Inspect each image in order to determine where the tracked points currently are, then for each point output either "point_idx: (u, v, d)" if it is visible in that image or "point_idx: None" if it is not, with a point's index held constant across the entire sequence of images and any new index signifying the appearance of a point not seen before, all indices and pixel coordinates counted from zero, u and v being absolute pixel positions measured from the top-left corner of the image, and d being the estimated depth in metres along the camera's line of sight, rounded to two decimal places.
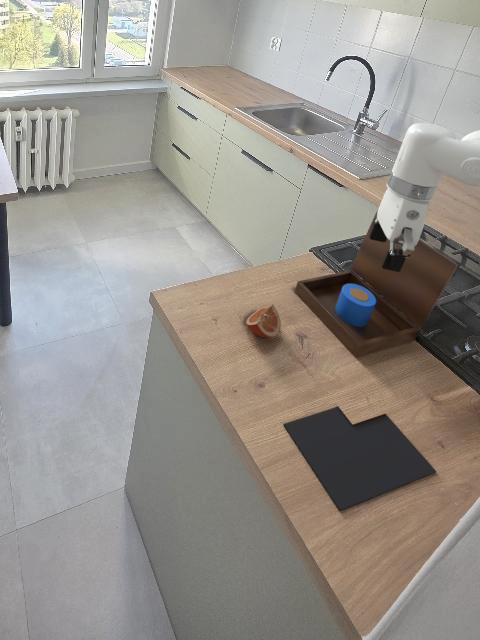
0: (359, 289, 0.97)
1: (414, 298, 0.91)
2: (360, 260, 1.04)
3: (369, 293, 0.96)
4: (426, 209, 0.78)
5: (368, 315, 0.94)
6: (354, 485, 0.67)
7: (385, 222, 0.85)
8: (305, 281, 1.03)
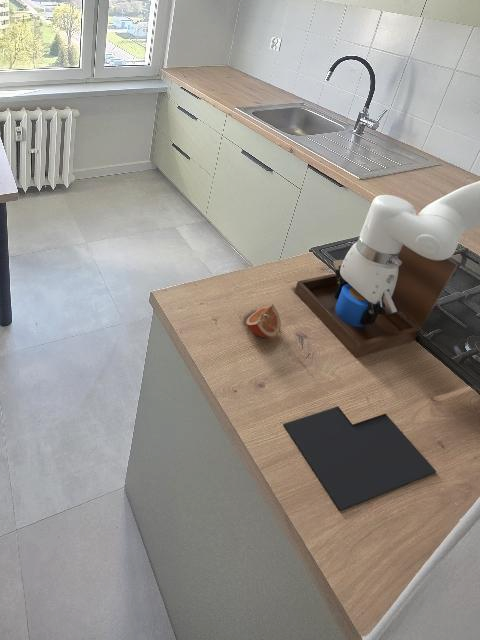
0: None
1: (414, 298, 0.91)
2: None
3: None
4: None
5: None
6: (354, 485, 0.67)
7: (361, 285, 0.92)
8: (305, 281, 1.03)
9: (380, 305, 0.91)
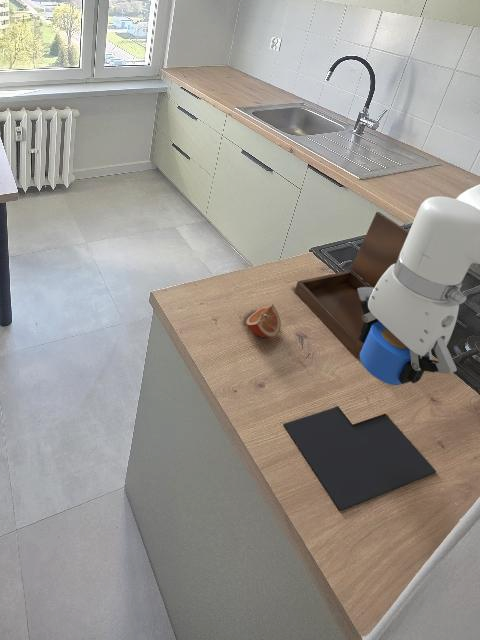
0: None
1: None
2: (360, 260, 1.04)
3: None
4: (458, 308, 0.59)
5: None
6: (354, 485, 0.67)
7: (400, 328, 0.63)
8: (305, 281, 1.03)
9: (429, 356, 0.63)
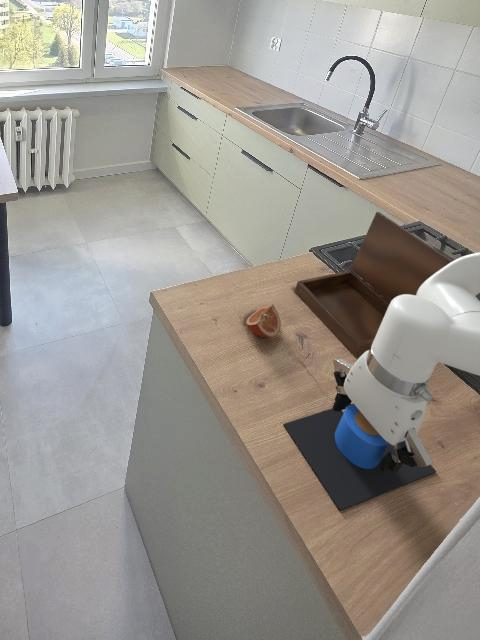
0: None
1: None
2: (360, 260, 1.04)
3: None
4: (426, 402, 0.62)
5: (381, 455, 0.68)
6: (354, 485, 0.67)
7: (373, 415, 0.66)
8: (305, 281, 1.03)
9: (407, 446, 0.64)
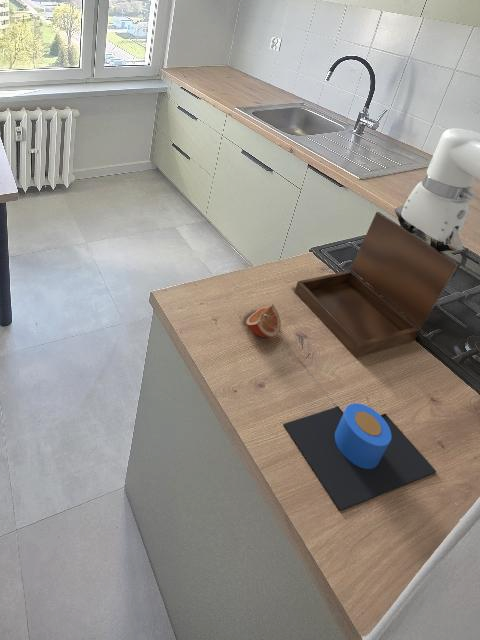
0: (368, 414, 0.71)
1: (414, 298, 0.91)
2: (360, 260, 1.04)
3: (382, 421, 0.70)
4: (468, 206, 0.85)
5: (381, 455, 0.68)
6: (354, 485, 0.67)
7: (427, 224, 0.90)
8: (305, 281, 1.03)
9: (444, 243, 0.90)
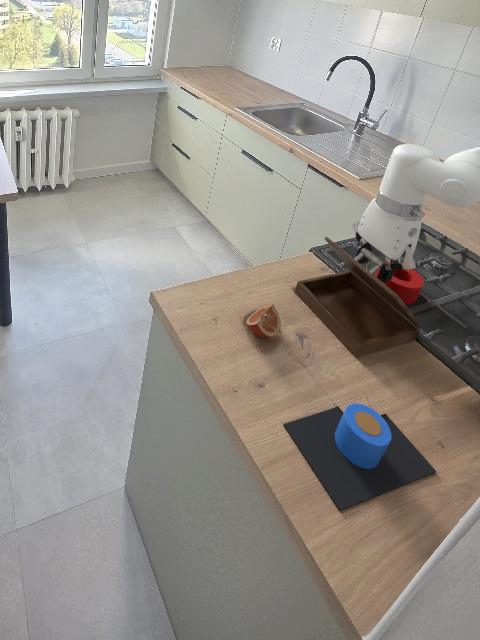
0: (368, 414, 0.71)
1: (398, 308, 0.91)
2: (349, 266, 1.04)
3: (382, 421, 0.70)
4: (420, 223, 0.83)
5: (381, 455, 0.68)
6: (354, 485, 0.67)
7: (381, 242, 0.87)
8: (305, 281, 1.03)
9: (398, 261, 0.87)
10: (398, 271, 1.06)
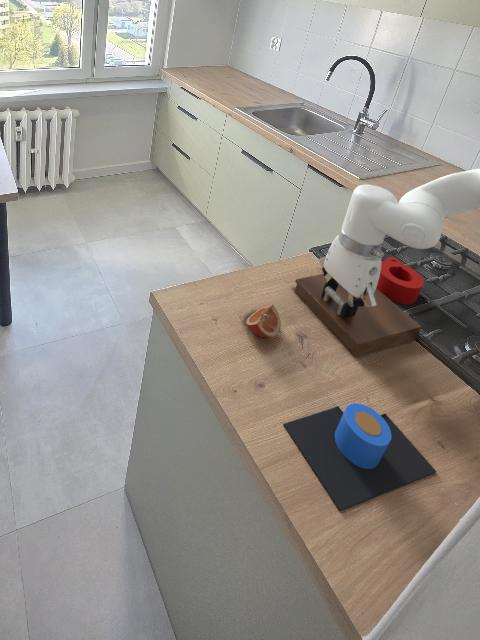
0: (368, 414, 0.71)
1: None
2: None
3: (382, 421, 0.70)
4: (381, 262, 0.85)
5: (381, 455, 0.68)
6: (354, 485, 0.67)
7: (344, 279, 0.89)
8: None
9: (361, 298, 0.89)
10: (398, 271, 1.06)
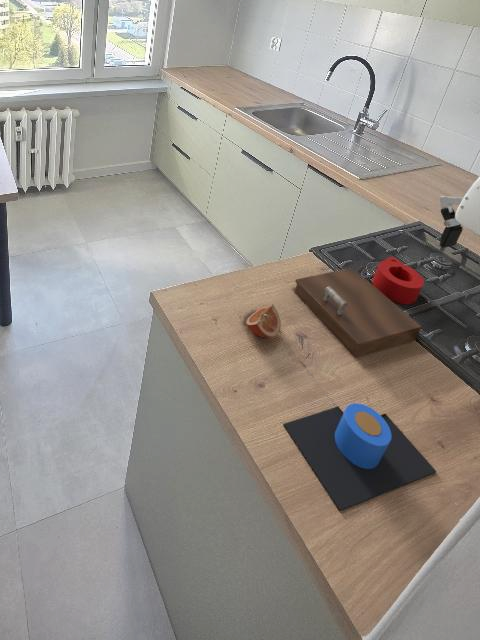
0: (368, 414, 0.71)
1: None
2: None
3: (382, 421, 0.70)
4: None
5: (381, 455, 0.68)
6: (354, 485, 0.67)
7: None
8: None
9: None
10: (398, 271, 1.06)
